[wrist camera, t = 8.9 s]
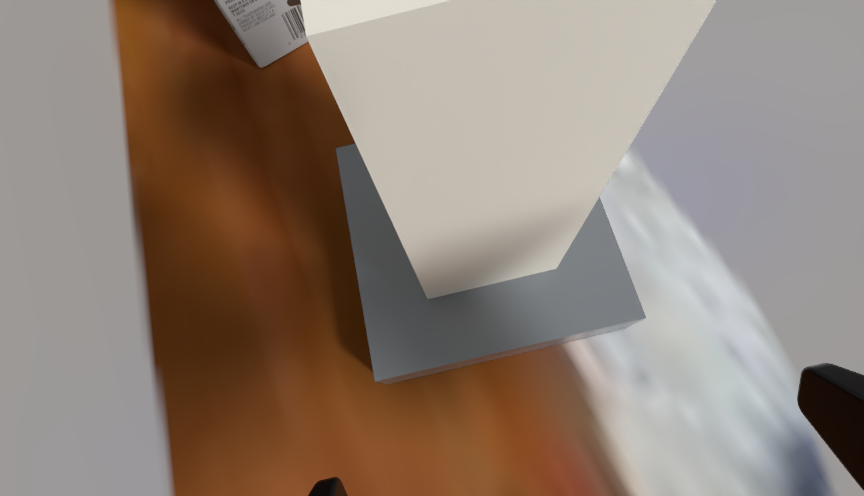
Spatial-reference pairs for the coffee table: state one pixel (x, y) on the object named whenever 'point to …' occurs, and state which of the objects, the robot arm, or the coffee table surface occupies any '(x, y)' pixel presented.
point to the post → (495, 116)
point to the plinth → (476, 294)
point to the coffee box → (266, 26)
